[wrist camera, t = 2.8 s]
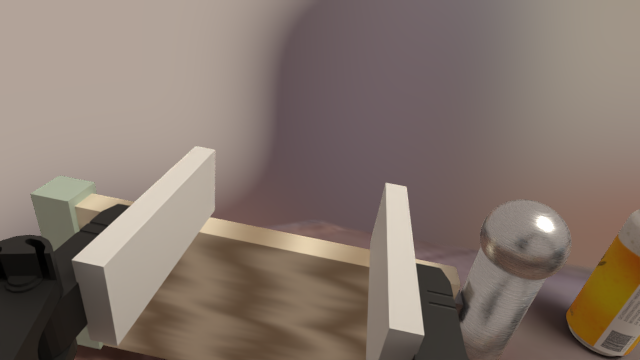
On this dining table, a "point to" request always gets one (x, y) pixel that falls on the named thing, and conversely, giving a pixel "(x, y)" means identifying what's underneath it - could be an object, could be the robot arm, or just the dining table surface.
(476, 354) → the gate post
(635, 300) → the orange and white cylinder
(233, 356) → the gate panel
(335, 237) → the dining table surface
